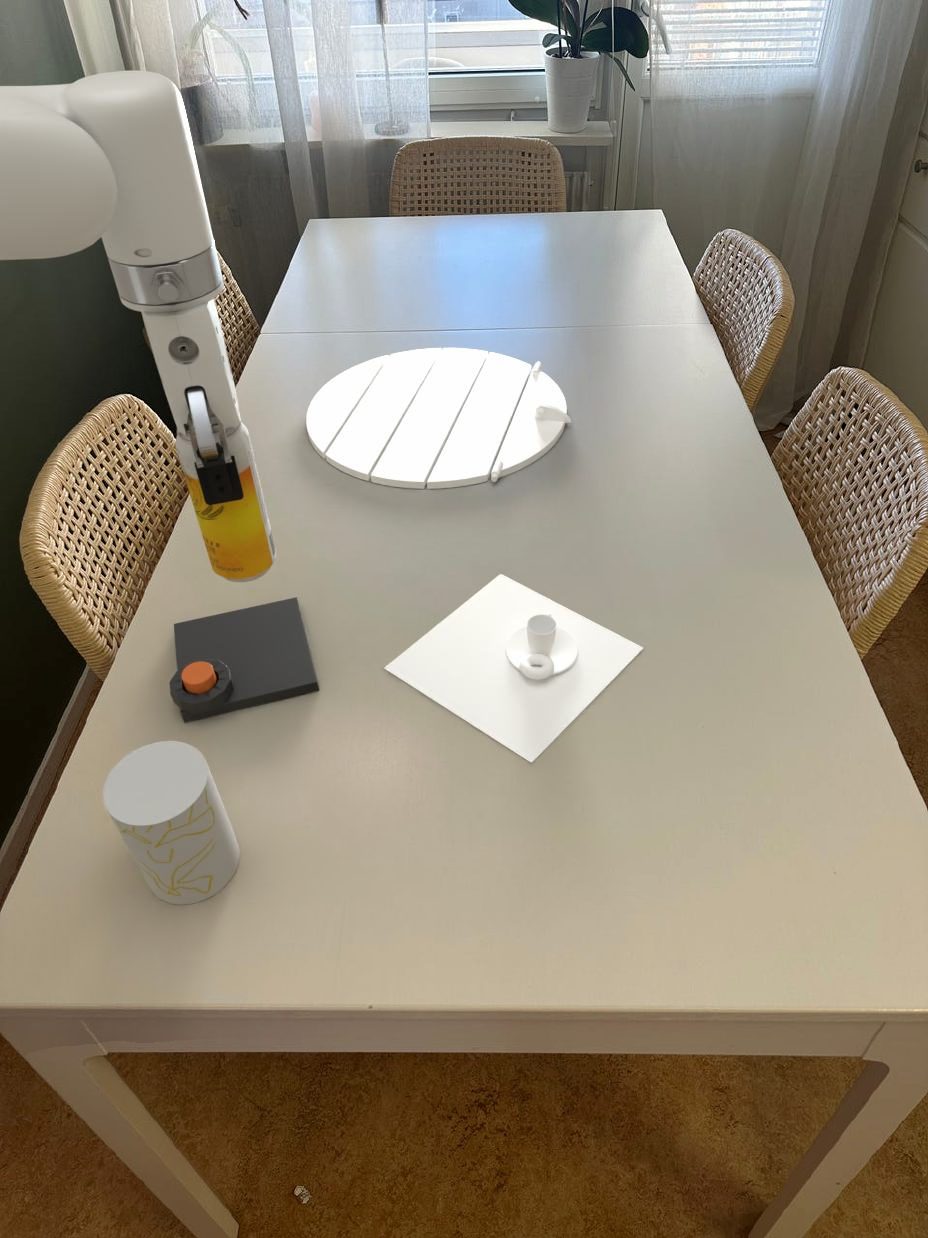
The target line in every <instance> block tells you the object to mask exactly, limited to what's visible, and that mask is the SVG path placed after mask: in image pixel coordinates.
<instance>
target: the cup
mask: <svg viewBox="0 0 928 1238" xmlns="http://www.w3.org/2000/svg"><path fill="white" fill-rule="evenodd" d="M102 801H103V805H104V807H105V809H106V811H107V813H108V815H109V816H110V819H111V820H112V822H113V824H114V825H115V828H116V829H117V831H118V833H119V835H120V836H121V838H122V840H123V842H124V844H125V846H126V848H127V849H128V851H129V853H130V855H131V856H132V859H133V860H134V863H136V865H137V867H138V869H139V871H140V873H141V875H142V876H143V879H144V880H145V882H146V883H147V885H148V887H149V889H150V891H151V892H152V893H153V895H155V896H156V897H157V898H158V899H159V900H161V901H163V902H165V903H168V904H172V905H180V906H181V905H183V906H184V905H185V906H186V905H193V904H197V903H200V902H203V901H206V900H208V899H209V898H211V897H213V896H215V895H216V894H218V893H219V892H220V891H221V890H223V889H224V888H225V887H226V886H227V885H228V883H230V882H231V880H232V878H233V877H234V875H235V874H236V871H237V869H238V866H239V863H240V858H241V857H240V856H241V851H240V845H239V842H238V840H237V837H236V834H235V832H234V829H233V827H232V824H231V822H230V818H229V816H228V813H227V811H226V809H225V805H224V803H223V800H222V798H221V796H220V793H219V791H218V788H217V785H216V783H215V780H214V777H213V775H212V773H211V770H210V768H209V765H208V761H207V759H206V758H205V756H204V755H203V753H202V752H201V751H200V750H199V749H198V748H197V747H195V746H194V745H191V744H189V743H187V742H183V741H178V740H161V741H156V742H151V743H149V744H146V745H142V746H141V747H138V748H137V749H135V750H133V751H131V752H129V753H128V754H126V755H125V756H124V757H122V758H121V759H120V760H119V761H118V762H117V763H116V765H114V767H113V768H112V769H111V770H110V772H109V774H108V775H107V777H106V780H105V782H104V785H103V789H102Z"/></svg>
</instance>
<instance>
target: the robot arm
mask: <svg viewBox="0 0 928 1238" xmlns="http://www.w3.org/2000/svg"><path fill="white" fill-rule="evenodd" d="M187 116H188V115H187V112H186V109H185V105H184V101H183V98H182V94H181V92H180V91H179V89H178V87H177V85H176V84H175V83H174V82H173V81H172V79H169V78H168V77H167V76H165V75H164V74H161V73H158V72H154V71H147V70H136V69H135V70H115V71H108V72H101V73H95V74H92V75H91V74H90V75H87V76H85V77H82V78H79V79H77V80H76V81H74V82H71V83H62V84H61V83H60V84H47V85H46V84H45V85H0V261H13V260H14V261H15V260H42V259H54V258H59V257H65V256H69V255H72V254H76V253H79V252H81V251H83V250H85V249H87V248H89V247H91V246H93V245H94V244H95V243H96V242H98V240H100V239H101V241H102V243H103V246H104V250H105V252H106V257H107V260H108V263H109V267H110V271H111V273H112V276H113V280H114V282H115V286H116V289H117V293H118V296H119V299H120V302H121V304H122V305H123V306H125V307H126V308H128V309H129V310H132V311H136V312H141V315H142V320H143V322H144V328H145V330H146V334H147V337H148V341H149V344H150V348H151V351H152V355H153V358H154V361H155V364H156V365H155V366H156V368H157V371H158V374H159V377H160V381H161V384H162V387H163V390H164V394H165V396H166V400H167V402H168V405H169V408H170V411H171V414H172V417H173V420H174V423H175V425H176V429H177V428H178V431H179V432H180V433H182V434H183V435H185V436H188V434H189V436H190V440H191V444H192V448H193V452H194V457H195V461H196V462H194V464H195V468H196V472H197V475H198V479H199V482H200V486H201V489H202V493H203V496H204V500H205V503H206V504H207V505H214V504H220V503H225V502H231V501H236V500H241V499H243V497H244V494H243V489H242V485H241V481H240V477H239V473H238V469H237V465H236V461H235V457H234V456H231V455H230V450H229V446H228V442H227V438H226V433H225V428H229V427H234V428H237V427H238V426H239V424H240V422H242V418H241V412H240V406H239V400H238V395H237V389H236V385H235V381H234V377H233V371H232V368H231V363H230V359H229V354H228V349H227V345H226V342H225V337H224V333H223V328H222V324H221V321H220V320H221V319H220V317H219V312H218V309H217V306H216V302H215V300H214V299H215V298H217V297H218V296H220V295H221V293H222V292H223V291H224V288H225V284H224V279H223V275H222V271H221V270H222V269H221V266H220V262H219V261H220V260H219V256H218V253H217V248H216V243H215V239H214V236H213V231H212V225H211V222H210V217H209V211H208V208H207V204H206V199H205V194H204V189H203V185H202V179H201V176H200V170H199V167H198V162H197V157H196V153H195V148H194V145H193V139H192V134H191V131H190V126H189V121H188V118H187ZM210 417H217V422H218V423H215V424H211V421H210ZM192 420H193V423H194V427H193V425H192ZM217 432H218V434H219V439H220V443H221V445H220V444H219V442H218V443H216V442H215V439H214V435H213V433H217Z"/></svg>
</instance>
